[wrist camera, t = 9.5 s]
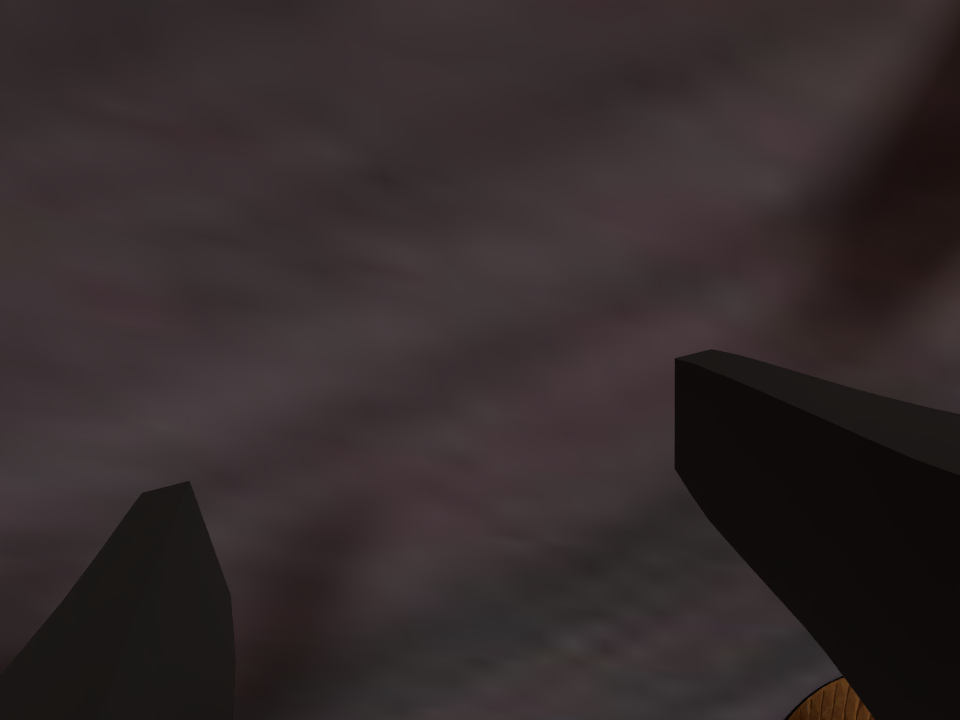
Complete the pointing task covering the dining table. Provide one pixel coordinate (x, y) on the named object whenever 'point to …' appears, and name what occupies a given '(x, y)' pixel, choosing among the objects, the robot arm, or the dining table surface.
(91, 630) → the robot arm
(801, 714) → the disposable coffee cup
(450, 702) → the dining table surface
